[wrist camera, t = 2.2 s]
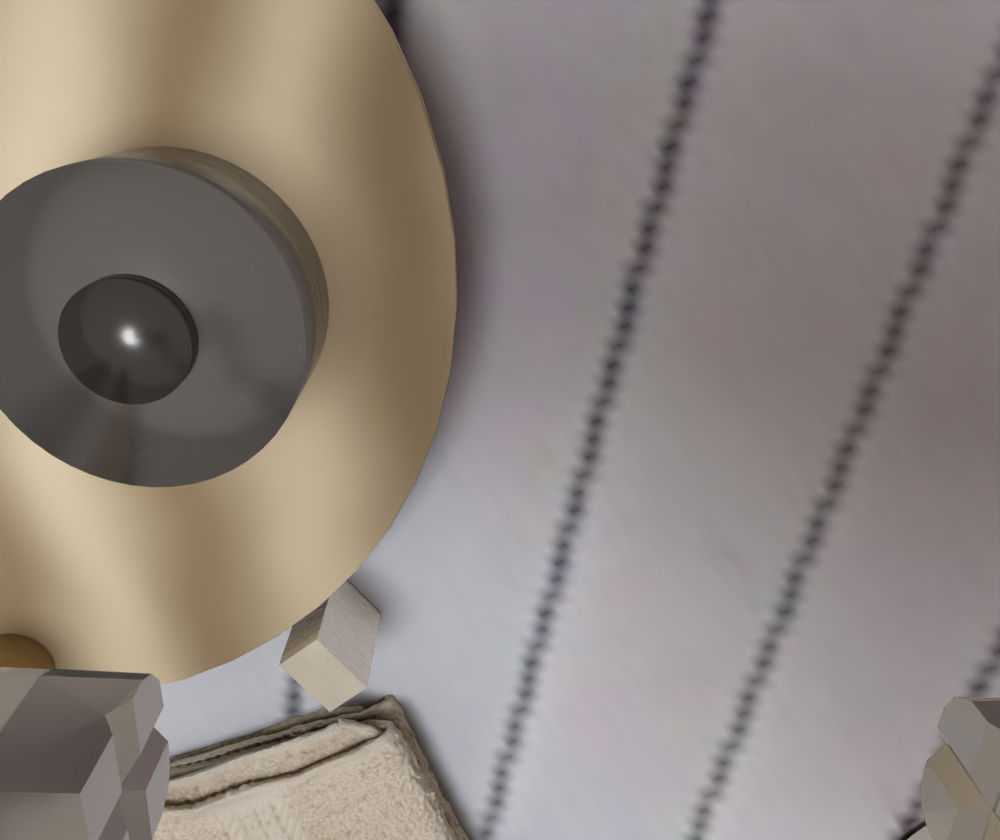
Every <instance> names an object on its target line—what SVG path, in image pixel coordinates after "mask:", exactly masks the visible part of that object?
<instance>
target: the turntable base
mask: <svg viewBox="0 0 1000 840" xmlns="http://www.w3.org/2000/svg"><path fill="white" fill-rule="evenodd" d="M380 615H381V614H380V613H379V612H378V611H377V610H376V609H375V608H374V607H373V606H372V605H371V604H370V603H369V602H368V601H367V600H366V599H365V598H364V597H363V596H362V595H361V594H360V593H359V592H358V591H357V590H356V589H355V588H354V587H353V586H352V585H351V584H350V583H349V582H348V581H347V580H346V581H345V582H344V583H343V584H342V585H341V586H340V587H339V588H338V589H337V590H336V591H335V592H334V593H332V594H331V595H330V596H329V597H328V598H327V599H326V600H325V601H324V602H323V603H322V604H321V605H320V606H319V607H317V608H316V609H315V610H313V611H312V612H310V613H309V614H308V615H306V616H305V617H304V618H302V619H301V620H299V621H298V622H297V623H295V624H294V625H293V626H292V629H291V632H290V635H289V638H288V641H287V643H286V646H285V649H284V652H283V655H282V658H281V661H280V664H279V665H280V666H281V667H282V668H283V669H284V670H285V671H286V672H287V673H288V674H289V675H290V676H291V677H292V678H293V679H295V680H296V681H297V682H298V683H299V684H300V685H301V686H302V687H303V688H304V689H305V690H306V691H307V692H309V693H310V694H311V695H312V696H313V697H314V698H315V699H316V700H317V701H318V702H319V703H320V704H321V705H322V706H324V707H325V708H326V709H327V710H328V711H329V712H331V711H332V710H334V709H335V708H337V707H338V706H340V705H341V704H343V703H344V702H346V701H347V700H349V699H351V698H352V697H354V696H355V695H357V694H358V693H360V692H361V691H363V690H364V689H366V688H367V684H368V679H369V674H370V668H371V663H372V658H373V652H374V647H375V642H376V636H377V631H378V626H379V621H380Z"/></svg>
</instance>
